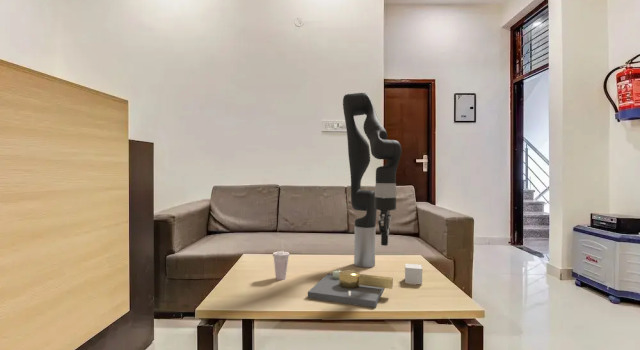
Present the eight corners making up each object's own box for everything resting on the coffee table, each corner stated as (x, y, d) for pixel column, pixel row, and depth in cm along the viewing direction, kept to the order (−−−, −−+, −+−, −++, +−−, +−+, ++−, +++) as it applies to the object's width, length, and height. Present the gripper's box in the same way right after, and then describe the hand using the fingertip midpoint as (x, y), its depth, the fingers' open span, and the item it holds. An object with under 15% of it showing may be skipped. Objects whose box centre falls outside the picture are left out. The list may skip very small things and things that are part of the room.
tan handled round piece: (336, 286, 113) (336, 274, 113) (342, 280, 119) (342, 269, 119) (390, 293, 107) (390, 281, 107) (393, 286, 113) (393, 275, 113)
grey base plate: (328, 278, 129) (328, 266, 129) (386, 285, 122) (386, 272, 122) (307, 297, 108) (308, 283, 108) (375, 307, 101) (375, 292, 101)
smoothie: (286, 281, 124) (286, 244, 124) (269, 280, 125) (270, 243, 125) (291, 276, 130) (291, 240, 130) (275, 275, 132) (276, 239, 132)
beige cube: (422, 285, 123) (422, 268, 122) (405, 283, 124) (405, 267, 124) (420, 280, 128) (421, 264, 128) (404, 278, 130) (405, 263, 130)
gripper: (378, 194, 125) (377, 241, 125) (371, 196, 113) (370, 247, 113) (398, 195, 123) (397, 242, 123) (393, 197, 110) (392, 249, 110)
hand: (384, 245), depth 118 cm, fingers closed
